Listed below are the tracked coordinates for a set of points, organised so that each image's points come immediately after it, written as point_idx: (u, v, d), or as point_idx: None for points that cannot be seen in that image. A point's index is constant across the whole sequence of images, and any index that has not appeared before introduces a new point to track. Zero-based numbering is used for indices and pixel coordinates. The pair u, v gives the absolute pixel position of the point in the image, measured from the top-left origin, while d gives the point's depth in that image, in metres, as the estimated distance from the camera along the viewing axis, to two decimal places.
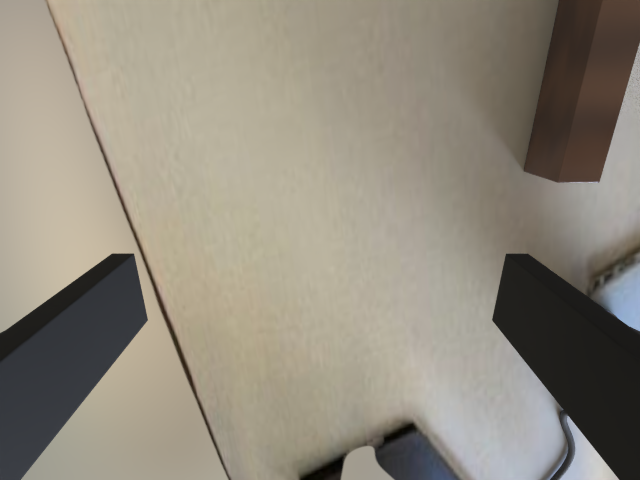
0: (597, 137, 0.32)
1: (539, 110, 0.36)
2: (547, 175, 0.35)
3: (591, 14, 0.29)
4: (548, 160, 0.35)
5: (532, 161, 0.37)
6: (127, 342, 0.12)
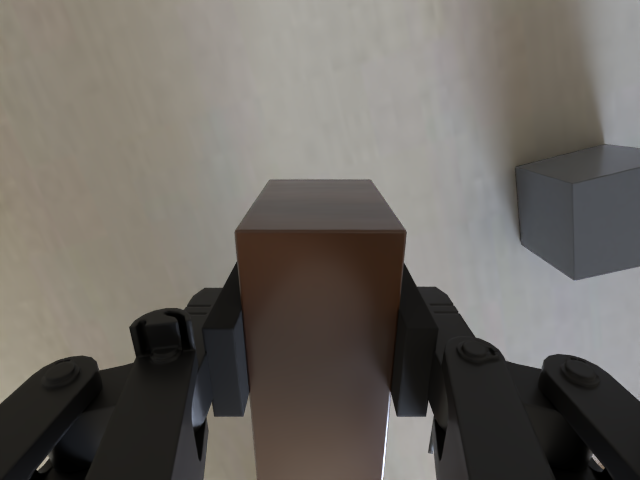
0: None
1: None
2: None
3: None
4: None
5: None
6: None
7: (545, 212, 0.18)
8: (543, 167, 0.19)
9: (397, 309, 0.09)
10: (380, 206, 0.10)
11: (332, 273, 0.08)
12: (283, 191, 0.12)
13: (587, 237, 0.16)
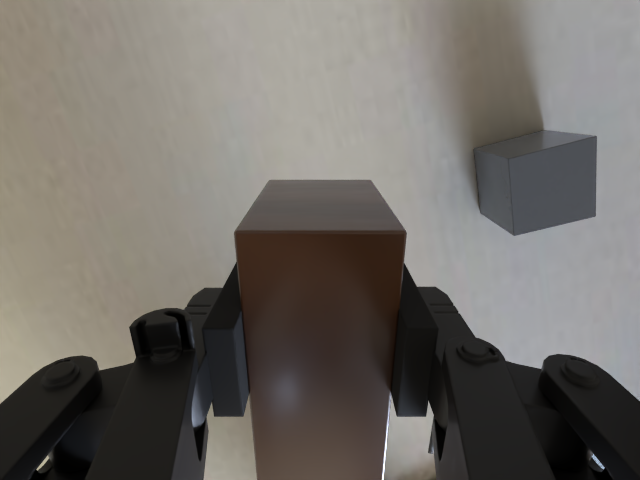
0: None
1: None
2: None
3: None
4: None
5: None
6: None
7: (494, 183, 0.23)
8: (493, 148, 0.24)
9: (397, 310, 0.09)
10: (380, 207, 0.10)
11: (332, 274, 0.08)
12: (283, 192, 0.12)
13: (522, 200, 0.21)
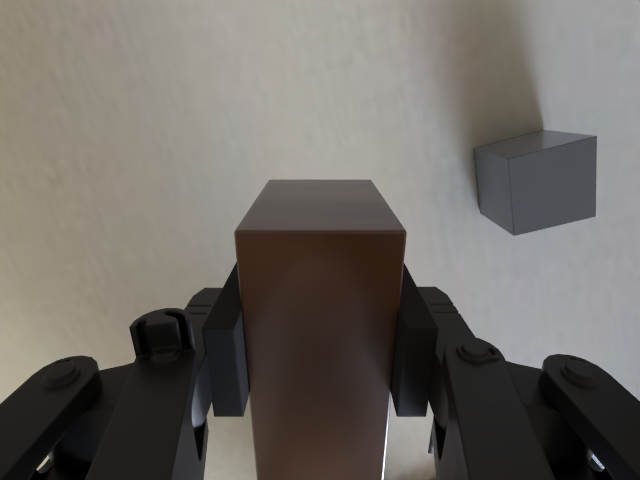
0: None
1: None
2: None
3: None
4: None
5: None
6: None
7: (494, 183, 0.23)
8: (493, 148, 0.24)
9: (397, 310, 0.09)
10: (380, 206, 0.10)
11: (332, 274, 0.08)
12: (283, 191, 0.12)
13: (522, 200, 0.21)
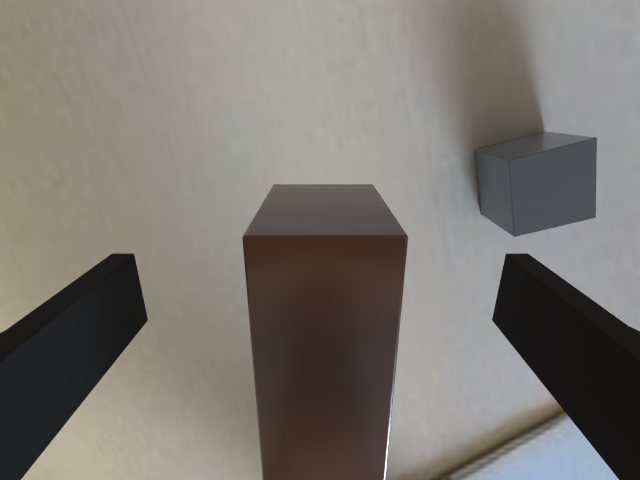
0: None
1: None
2: None
3: None
4: None
5: None
6: (127, 342, 0.12)
7: (494, 184, 0.23)
8: (494, 149, 0.24)
9: (399, 311, 0.09)
10: (382, 211, 0.10)
11: (337, 276, 0.09)
12: (288, 196, 0.12)
13: (523, 201, 0.22)
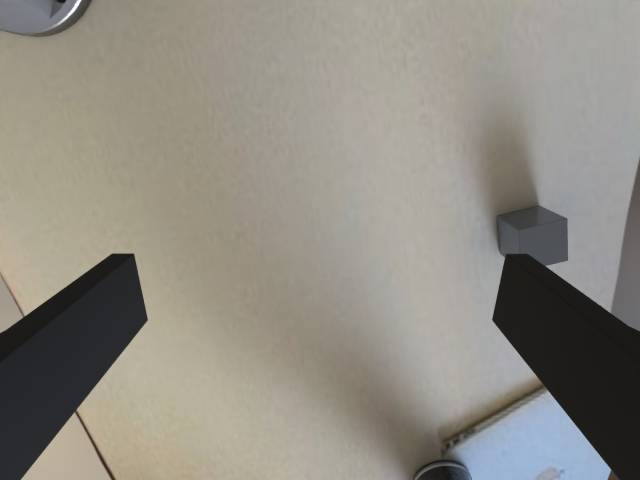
0: None
1: None
2: None
3: None
4: None
5: None
6: (127, 342, 0.12)
7: (509, 239, 0.40)
8: (509, 218, 0.40)
9: None
10: None
11: None
12: None
13: (526, 252, 0.38)
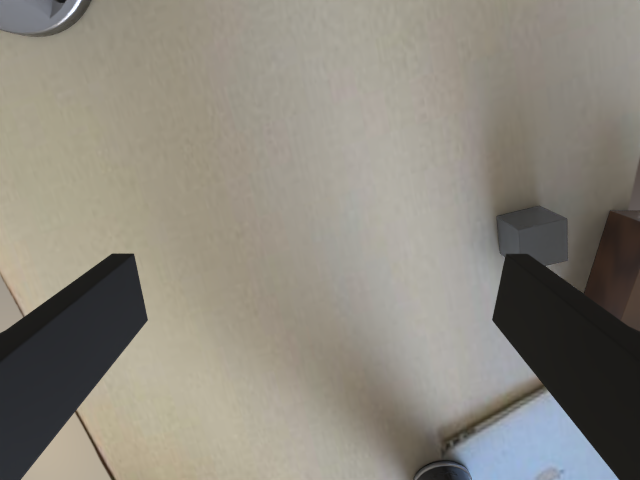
0: None
1: None
2: None
3: (617, 306, 0.40)
4: None
5: None
6: (127, 342, 0.12)
7: (509, 239, 0.40)
8: (509, 218, 0.40)
9: None
10: None
11: None
12: (631, 215, 0.39)
13: (526, 252, 0.38)
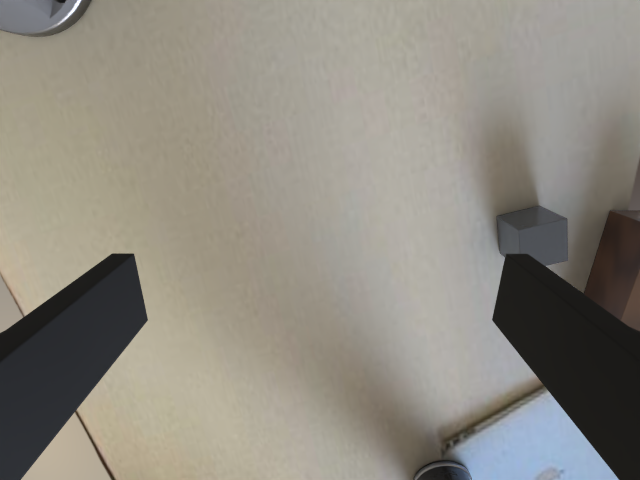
0: None
1: None
2: None
3: (617, 306, 0.40)
4: None
5: None
6: (127, 342, 0.12)
7: (509, 239, 0.40)
8: (509, 218, 0.40)
9: None
10: None
11: None
12: (631, 215, 0.39)
13: (526, 252, 0.38)
